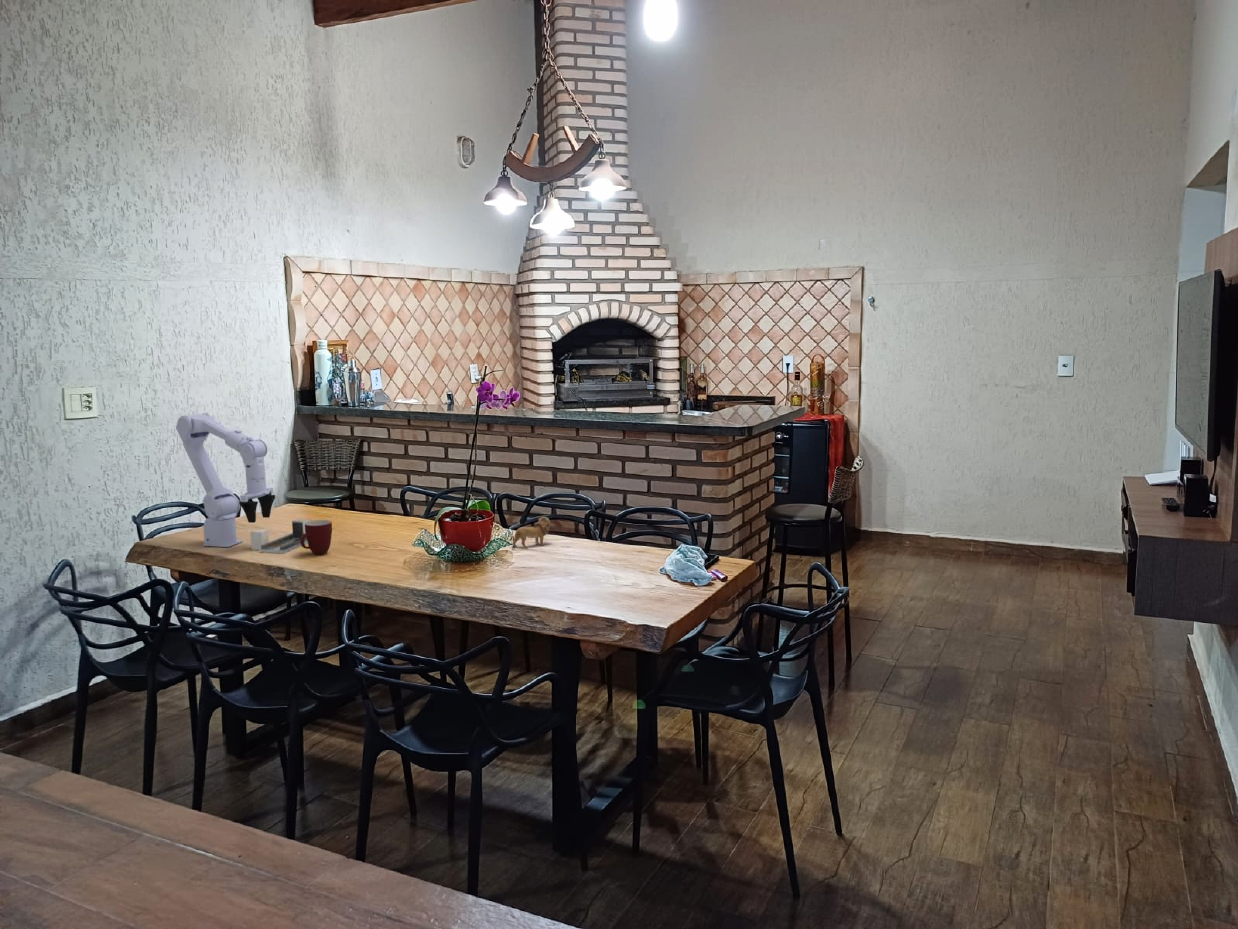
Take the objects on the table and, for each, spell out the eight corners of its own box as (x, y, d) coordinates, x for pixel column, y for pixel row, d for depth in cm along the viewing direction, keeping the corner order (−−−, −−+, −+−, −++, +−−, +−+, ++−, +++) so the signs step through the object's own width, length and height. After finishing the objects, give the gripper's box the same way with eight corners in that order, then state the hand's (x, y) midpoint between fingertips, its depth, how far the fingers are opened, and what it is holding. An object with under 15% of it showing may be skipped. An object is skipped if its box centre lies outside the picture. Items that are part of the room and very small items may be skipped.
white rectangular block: (251, 549, 283) (250, 531, 282) (259, 546, 287) (257, 528, 286) (262, 550, 282) (261, 532, 281) (270, 547, 286) (268, 529, 285)
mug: (313, 560, 270) (311, 528, 269) (294, 557, 274) (292, 525, 273) (338, 552, 280) (337, 521, 278) (320, 549, 283) (318, 519, 282)
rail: (261, 552, 280) (259, 530, 279) (295, 538, 298) (293, 518, 297) (283, 553, 278) (282, 532, 277) (316, 539, 297) (315, 519, 295)
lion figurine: (544, 541, 294) (544, 514, 292) (554, 544, 290) (553, 517, 288) (507, 548, 285) (506, 521, 283) (516, 551, 281) (516, 523, 279)
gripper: (253, 482, 273) (256, 525, 275) (280, 474, 287) (283, 515, 289) (232, 481, 275) (236, 524, 277) (260, 474, 289) (264, 515, 291)
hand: (259, 519), depth 283 cm, fingers open, 7 cm apart
